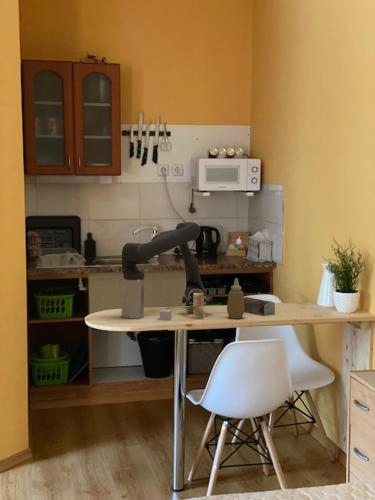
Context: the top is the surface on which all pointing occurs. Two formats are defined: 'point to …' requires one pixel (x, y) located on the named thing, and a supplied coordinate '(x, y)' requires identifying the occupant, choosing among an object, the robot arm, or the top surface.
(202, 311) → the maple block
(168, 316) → the grey block
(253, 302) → the beverage carton
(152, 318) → the top surface
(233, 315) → the squeeze bottle
